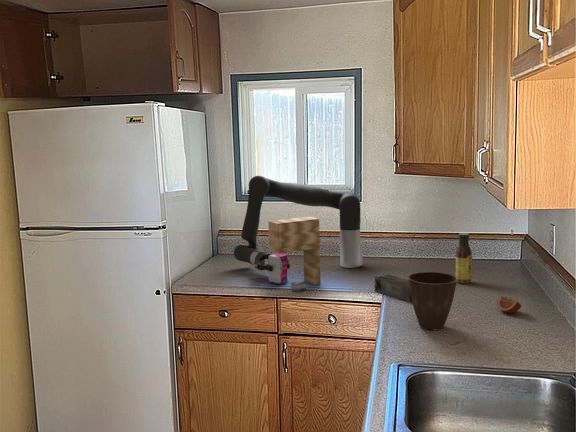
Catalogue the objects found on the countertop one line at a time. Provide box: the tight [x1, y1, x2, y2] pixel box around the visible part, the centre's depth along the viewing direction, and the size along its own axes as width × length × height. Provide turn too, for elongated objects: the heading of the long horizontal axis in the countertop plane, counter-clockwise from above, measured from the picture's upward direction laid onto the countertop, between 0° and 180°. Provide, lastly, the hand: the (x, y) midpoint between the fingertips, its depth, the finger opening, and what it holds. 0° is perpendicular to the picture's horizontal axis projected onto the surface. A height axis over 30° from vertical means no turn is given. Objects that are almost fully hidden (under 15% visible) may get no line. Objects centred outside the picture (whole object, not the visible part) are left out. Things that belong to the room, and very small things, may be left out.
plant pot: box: [407, 271, 457, 331], centre depth 187 cm, size 15×15×16 cm
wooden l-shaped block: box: [267, 216, 321, 285], centre depth 239 cm, size 19×8×27 cm, turn 120°
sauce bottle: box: [455, 232, 473, 285], centre depth 237 cm, size 7×6×20 cm
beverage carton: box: [374, 274, 412, 302], centre depth 223 cm, size 8×19×7 cm, turn 35°
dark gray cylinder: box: [290, 281, 307, 294], centre depth 233 cm, size 6×6×3 cm
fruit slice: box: [496, 295, 522, 314], centre depth 199 cm, size 8×7×5 cm
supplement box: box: [268, 253, 288, 285], centre depth 244 cm, size 6×6×12 cm
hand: (280, 267), depth 242 cm, fingers closed on supplement box, 7 cm apart
